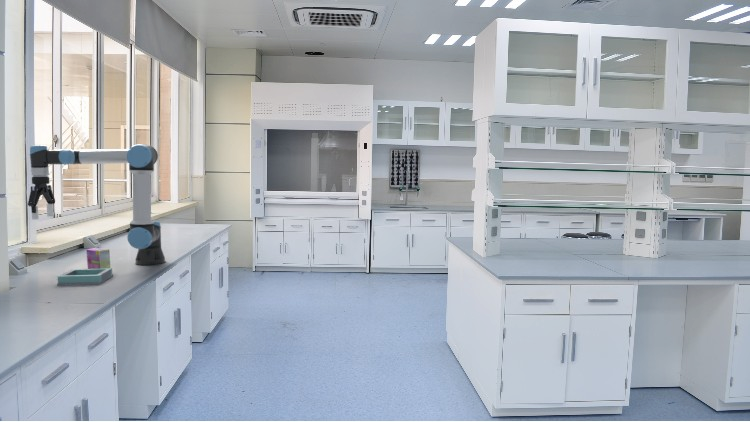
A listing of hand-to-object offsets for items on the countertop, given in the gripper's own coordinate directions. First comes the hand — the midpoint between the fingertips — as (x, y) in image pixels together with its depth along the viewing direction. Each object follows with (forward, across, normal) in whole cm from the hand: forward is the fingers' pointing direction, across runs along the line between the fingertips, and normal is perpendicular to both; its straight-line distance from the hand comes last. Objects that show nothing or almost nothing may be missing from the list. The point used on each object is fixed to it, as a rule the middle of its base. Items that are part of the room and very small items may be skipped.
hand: (43, 217), depth 268 cm
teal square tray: (+27, +25, +32) cm, 49 cm away
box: (+28, +6, +29) cm, 40 cm away
